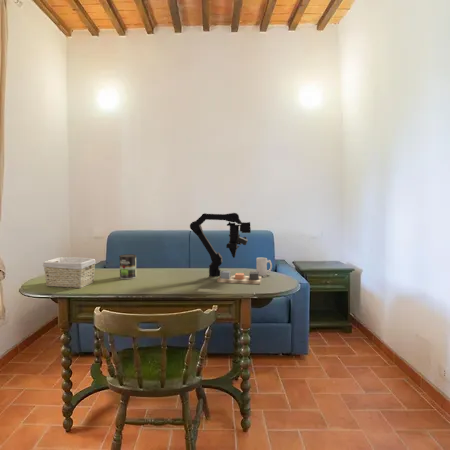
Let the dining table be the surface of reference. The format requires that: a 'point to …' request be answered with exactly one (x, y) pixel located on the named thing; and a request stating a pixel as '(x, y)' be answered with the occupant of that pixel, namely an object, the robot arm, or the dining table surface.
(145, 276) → the dining table surface
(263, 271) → the mug
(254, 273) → the dark grey cube
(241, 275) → the orange cube
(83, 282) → the storage basket
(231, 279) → the birch panel
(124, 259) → the coffee can
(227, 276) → the blue-grey cube
